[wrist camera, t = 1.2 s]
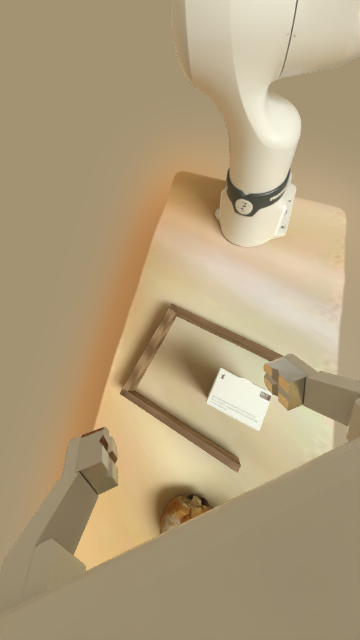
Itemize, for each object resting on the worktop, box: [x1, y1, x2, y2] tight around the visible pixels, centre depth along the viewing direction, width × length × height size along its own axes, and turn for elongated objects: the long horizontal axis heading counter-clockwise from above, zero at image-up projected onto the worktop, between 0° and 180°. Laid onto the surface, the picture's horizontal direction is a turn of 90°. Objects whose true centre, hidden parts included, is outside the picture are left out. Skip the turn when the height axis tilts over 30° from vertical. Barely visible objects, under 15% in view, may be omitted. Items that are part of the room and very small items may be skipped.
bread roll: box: [160, 495, 211, 534], centre depth 37 cm, size 10×10×8 cm
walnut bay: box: [120, 304, 283, 473], centre depth 44 cm, size 22×26×4 cm
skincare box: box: [206, 368, 273, 431], centre depth 37 cm, size 8×6×15 cm
